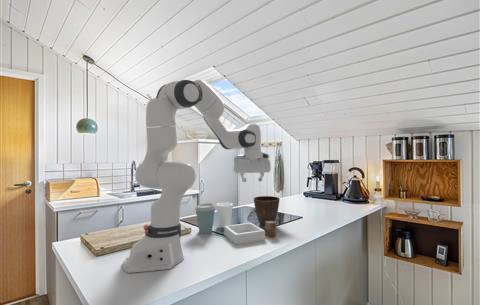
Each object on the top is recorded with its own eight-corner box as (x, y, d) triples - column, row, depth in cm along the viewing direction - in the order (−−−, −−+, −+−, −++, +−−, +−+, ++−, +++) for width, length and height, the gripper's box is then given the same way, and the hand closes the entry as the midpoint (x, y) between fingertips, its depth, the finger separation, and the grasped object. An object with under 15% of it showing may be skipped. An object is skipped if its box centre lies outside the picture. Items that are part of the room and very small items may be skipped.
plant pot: (266, 231, 138) (266, 201, 138) (248, 225, 150) (248, 198, 150) (285, 226, 148) (285, 198, 148) (266, 221, 159) (266, 195, 159)
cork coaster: (267, 240, 124) (267, 239, 124) (259, 235, 131) (259, 234, 131) (281, 238, 127) (281, 237, 127) (273, 233, 134) (273, 232, 134)
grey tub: (235, 245, 117) (235, 234, 117) (224, 235, 131) (224, 226, 131) (264, 241, 123) (264, 230, 123) (250, 232, 137) (250, 222, 137)
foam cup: (233, 224, 151) (233, 202, 151) (231, 229, 141) (231, 206, 141) (217, 224, 152) (217, 202, 152) (214, 229, 142) (214, 205, 142)
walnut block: (269, 237, 126) (269, 223, 126) (265, 235, 130) (265, 221, 130) (276, 236, 128) (276, 222, 128) (271, 234, 132) (271, 220, 132)
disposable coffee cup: (203, 237, 128) (203, 207, 128) (191, 233, 136) (191, 204, 136) (219, 232, 136) (219, 204, 136) (206, 228, 143) (206, 201, 143)
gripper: (236, 154, 128) (236, 182, 128) (272, 155, 136) (272, 181, 136) (231, 154, 134) (231, 181, 134) (266, 155, 142) (266, 180, 142)
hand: (252, 181), depth 135 cm, fingers open, 8 cm apart
